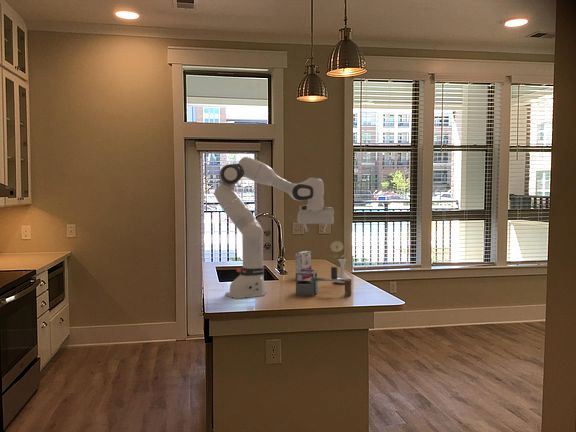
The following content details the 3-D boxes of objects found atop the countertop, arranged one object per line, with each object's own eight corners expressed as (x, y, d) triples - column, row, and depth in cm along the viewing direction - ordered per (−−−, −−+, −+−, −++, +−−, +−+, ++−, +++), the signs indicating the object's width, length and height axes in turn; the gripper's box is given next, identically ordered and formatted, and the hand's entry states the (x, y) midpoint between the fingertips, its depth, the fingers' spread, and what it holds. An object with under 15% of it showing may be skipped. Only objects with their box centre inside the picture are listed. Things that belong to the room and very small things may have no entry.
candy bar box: (305, 275, 323) (305, 250, 322) (311, 276, 320) (311, 251, 319) (295, 278, 314) (294, 252, 313) (301, 279, 311) (301, 253, 310)
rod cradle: (351, 294, 267) (351, 278, 266) (350, 296, 262) (350, 280, 261) (345, 293, 267) (345, 278, 267) (344, 295, 262) (344, 280, 262)
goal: (317, 291, 274) (317, 269, 273) (313, 296, 262) (313, 273, 262) (300, 291, 276) (299, 269, 275) (295, 295, 264) (295, 273, 264)
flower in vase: (353, 281, 302) (353, 240, 301) (350, 285, 291) (350, 242, 290) (332, 280, 306) (331, 239, 304) (328, 284, 295) (328, 241, 293)
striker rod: (348, 292, 267) (348, 266, 267) (347, 294, 262) (347, 268, 261) (312, 291, 272) (312, 265, 271) (310, 293, 266) (310, 267, 265)
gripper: (335, 207, 277) (334, 232, 278) (299, 206, 282) (298, 230, 282) (333, 207, 271) (333, 233, 271) (296, 206, 275) (296, 231, 276)
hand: (315, 232), depth 277 cm, fingers open, 8 cm apart
